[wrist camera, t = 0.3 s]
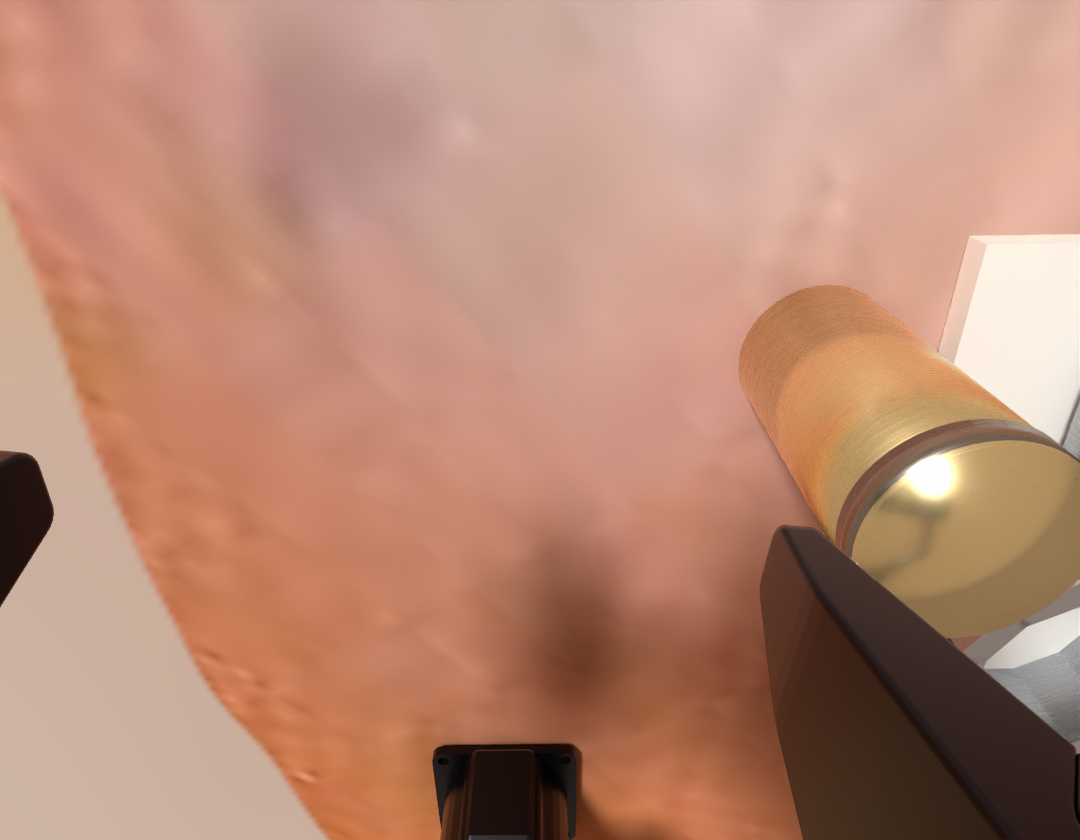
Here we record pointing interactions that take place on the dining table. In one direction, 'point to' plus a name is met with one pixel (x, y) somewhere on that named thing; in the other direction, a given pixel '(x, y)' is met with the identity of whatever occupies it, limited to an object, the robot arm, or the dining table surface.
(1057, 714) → the steel cradle
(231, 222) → the dining table surface
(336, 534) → the dining table surface
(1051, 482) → the cylinder
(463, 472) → the dining table surface
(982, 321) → the mounting plate
